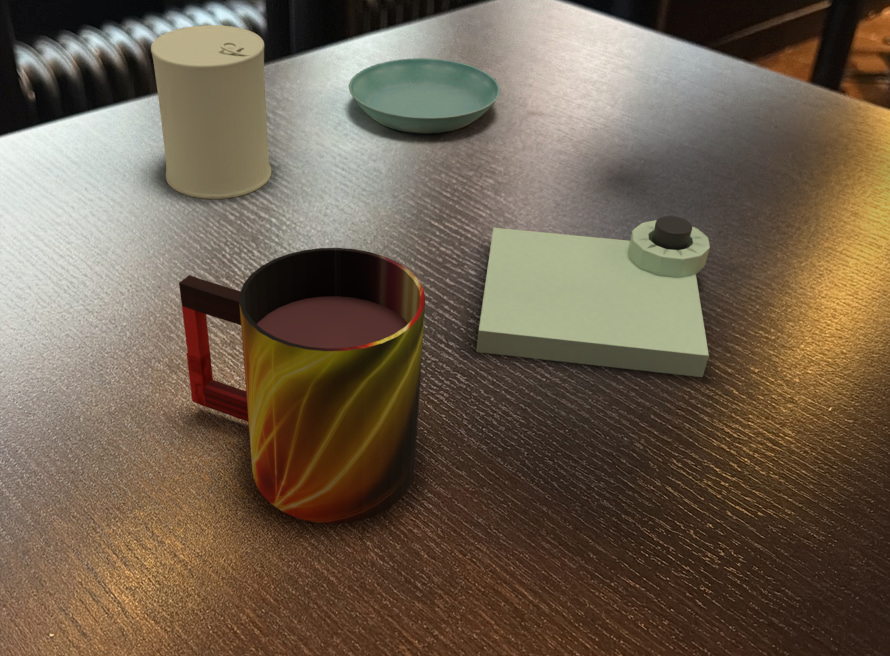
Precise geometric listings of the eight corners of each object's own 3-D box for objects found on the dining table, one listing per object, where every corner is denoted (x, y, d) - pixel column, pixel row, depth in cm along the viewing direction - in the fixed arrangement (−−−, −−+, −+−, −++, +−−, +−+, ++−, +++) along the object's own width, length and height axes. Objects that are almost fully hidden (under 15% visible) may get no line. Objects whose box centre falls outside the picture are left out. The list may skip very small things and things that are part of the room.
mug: (196, 407, 63) (176, 242, 56) (414, 414, 63) (424, 249, 55) (167, 518, 56) (140, 345, 48) (414, 527, 55) (426, 354, 48)
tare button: (686, 235, 74) (690, 217, 73) (689, 253, 72) (693, 234, 71) (650, 232, 75) (654, 214, 74) (652, 250, 73) (656, 231, 72)
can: (231, 209, 83) (220, 68, 76) (144, 183, 87) (125, 45, 79) (291, 166, 89) (286, 31, 82) (207, 143, 93) (195, 11, 85)
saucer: (364, 77, 106) (364, 52, 104) (504, 89, 103) (506, 64, 102) (334, 135, 94) (334, 108, 93) (490, 150, 92) (493, 123, 91)
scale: (695, 263, 77) (705, 223, 75) (714, 379, 66) (727, 336, 64) (491, 243, 79) (495, 204, 77) (476, 352, 68) (480, 310, 66)
